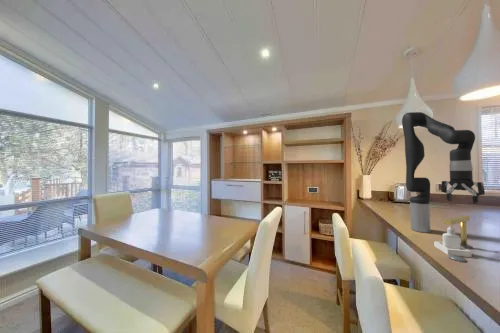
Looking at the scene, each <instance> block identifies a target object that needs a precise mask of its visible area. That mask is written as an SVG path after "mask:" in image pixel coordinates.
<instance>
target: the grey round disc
mask: <svg viewBox="0 0 500 333" xmlns="http://www.w3.org/2000/svg"><path fill="white" fill-rule="evenodd" d="M448 259H450V260H452V261H454V260H455V262H458V261H459V263H467V259H466V257H465V258H464V257H463V256H455V255H448Z"/></svg>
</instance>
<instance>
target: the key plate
mask: <svg viewBox="0 0 500 333" xmlns="http://www.w3.org/2000/svg"><path fill="white" fill-rule="evenodd" d="M460 245H461V246H462V247H464V248H466V249H467V250H470V249H471V250H472V249H473V246H472V245H470V244H468V243H467V245H462V244H461V242H460ZM473 250H474V249H473Z"/></svg>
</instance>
